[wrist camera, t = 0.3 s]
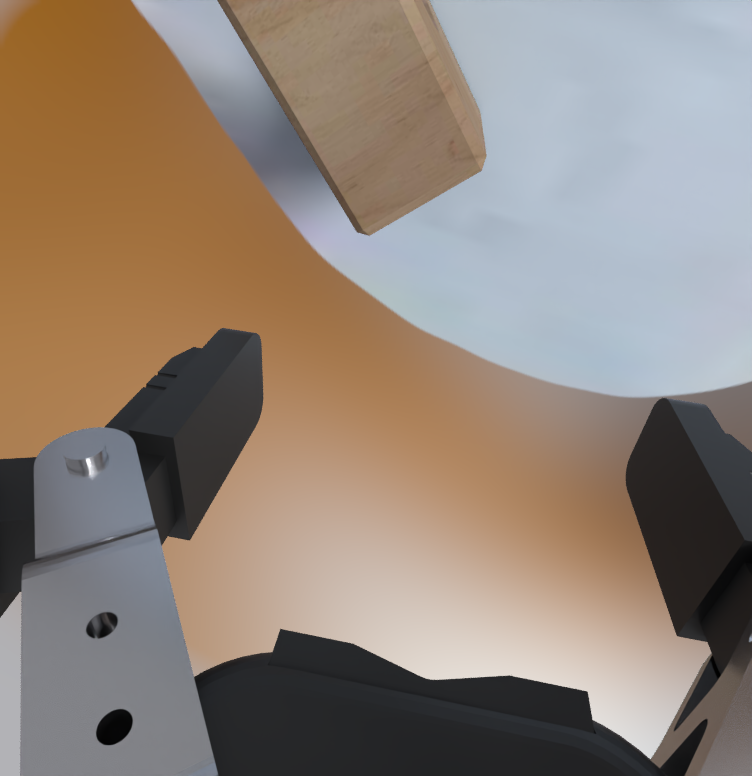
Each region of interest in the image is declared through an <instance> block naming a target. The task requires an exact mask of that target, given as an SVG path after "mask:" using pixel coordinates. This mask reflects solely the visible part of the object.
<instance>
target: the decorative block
mask: <svg viewBox="0 0 752 776" xmlns="http://www.w3.org/2000/svg"><path fill="white" fill-rule="evenodd" d="M217 1H218V2H219V4H220V6H221V7H222V9H223V11H224V12H225V14H226V16H227V17H228V19H229V21H230V22H231V24H232V26H233V27H234V29H235V31H236V32H237V34H238V36H239V37H240V39H241V41H242V42H243V44H244V46H245V47H246V49H247V51H248V52H249V54H250V56H251V57H252V59H253V61H254V62H255V64H256V66H257V67H258V69H259V71H260V72H261V74H262V76H263V77H264V79H265V81H266V82H267V84H268V86H269V87H270V89H271V91H272V92H273V94H274V96H275V97H276V99H277V101H278V102H279V104H280V106H281V107H282V109H283V111H284V112H285V114H286V116H287V117H288V119H289V121H290V122H291V124H292V125H293V127H294V129H295V130H296V132H297V134H298V135H299V137H300V139H301V140H302V142H303V144H304V145H305V147H306V149H307V150H308V152H309V154H310V155H311V157H312V159H313V160H314V162H315V164H316V165H317V167H318V169H319V170H320V172H321V173H322V175H323V177H324V178H325V180H326V182H327V183H328V185H329V187H330V188H331V190H332V192H333V193H334V195H335V197H336V198H337V200H338V202H339V203H340V205H341V207H342V208H343V210H344V212H345V213H346V215H347V217H348V218H349V220H350V222H351V223H352V225H353V226H354V228H355V230H356V231H357V232H358V233H362V234H365V235H369V236H370V235H371V234H373V233H375V232H377V231H378V230H380V229H382V228H383V227H385V226H387V225H389V224H390V223H392V222H394V221H396V220H397V219H399V218H401V217H402V216H404V215H406V214H408V213H409V212H411V211H413V210H415V209H416V208H418V207H420V206H421V205H423V204H425V203H427V202H428V201H430V200H432V199H433V198H435V197H437V196H439V195H440V194H442V193H444V192H446V191H447V190H449V189H451V188H452V187H454V186H456V185H458V184H459V183H461V182H463V181H464V180H466V179H468V178H470V177H471V176H473V175H475V174H477V173H478V172H480V171H482V168H483V165H484V162H485V159H486V149H485V142H484V135H483V128H482V121H481V114H480V110H479V108H478V106H477V104H476V102H475V99H474V97H473V95H472V93H471V91H470V88H469V86H468V84H467V82H466V80H465V78H464V75H463V73H462V71H461V69H460V67H459V64H458V62H457V60H456V58H455V56H454V53H453V51H452V49H451V47H450V45H449V42H448V40H447V38H446V36H445V34H444V32H443V29H442V27H441V25H440V23H439V21H438V18H437V16H436V14H435V12H434V10H433V7H432V5H431V3H430V1H429V0H217Z"/></svg>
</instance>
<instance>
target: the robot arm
mask: <svg viewBox="0 0 752 776" xmlns="http://www.w3.org/2000/svg"><path fill="white" fill-rule="evenodd" d="M262 405H263V376H262V348H261V339H260V336H259V335H258V334H257V333H251V332H245V331H239V330H232V329H226V328H222V329H220V330H218V332H217V333H216V334H215V335H214V336H213V337H212V338H211V339H210V341H208V343H207V344H206V345H205V346H204V347H203V348H196V347H193V348H191V349H189V350H187V351H185V352H183V353H181V354H179V355H177V356H175V357H173V358H171V359H170V360H169V362H167V364H165V366H164V367H163V368H162V369H161V370H160V371H159V372H158V375H157V376H156V375H155V376H154V377H153V378H152V379H151V380H150V381H149V382H148V383H147V384H146V388H145V387H143V388H142V389H141V390H140V391H139V392H138V393H137V394H136V395H135V396H134V397H133V399H132V400H130V401H129V402H128V404H127V405H126V406H125V407H124V408H123V409H122V410H121V411H120V412H119V413H118V414H117V415H116V416H115V417H114V418H113V419H112V420H111V421H110V422H109V423H108V424H107V425H106V426H105V427H104V428H100V427H98V428H88V429H82V430H78V431H74V432H71V433H69V434H66V435H64V436H62V437H59V438H58V439H56V440H54V441H53V442H51V443H50V444H48V445H47V446H46V447H45V448H44V449H43V450H42V451H41V452H40V453H39V455H38V456H37V457H33V458H15V459H0V617H1V616H2V615H3V613H4V612H5V611H6V609H7V608H8V607H9V605H10V604H11V603H12V601H13V600H14V599H15V597H16V596H17V595H18V593H19V592H22V599H21V600H22V601H21V602H22V604H21V606H22V607H21V608H22V609H21V610H22V611H21V612H22V613H21V746H20V776H752V452H751V451H750V450H748V449H747V448H746V447H745V446H744V445H742V444H741V443H740V442H739V441H737V440H736V439H735V438H734V437H733V436H732V435H730V434H725V433H724V431H723V430H722V429H721V427H720V425H719V423H718V422H717V420H716V419H715V417H714V416H713V414H712V413H711V411H710V410H709V408H708V407H707V406H706V405H704V404H699V403H692V402H685V401H680V400H673V399H667V398H662V399H660V400H659V401H657V403H656V404H655V405H654V407H653V409H652V411H651V413H650V415H649V417H648V419H647V422H646V424H645V426H644V428H643V430H642V432H641V434H640V437H639V439H638V441H637V443H636V445H635V447H634V449H633V451H632V454H631V456H630V458H629V461H628V464H627V469H626V486H627V490H628V493H629V496H630V499H631V502H632V505H633V508H634V511H635V514H636V517H637V520H638V523H639V526H640V529H641V532H642V535H643V538H644V541H645V544H646V546H647V549H648V552H649V555H650V558H651V561H652V564H653V567H654V570H655V573H656V576H657V579H658V582H659V584H660V588H661V591H662V594H663V596H664V599H665V602H666V605H667V608H668V611H669V614H670V617H671V620H672V623H673V626H674V629H675V632H676V635H677V636H679V637H684V638H689V639H695V640H700V641H705V642H708V645H709V647H710V650H711V652H712V653H711V654H710V656H709V657H708V658H707V659H706V661H705V662H704V663H703V665H702V667H701V668H700V670H699V672H698V674H697V676H696V678H695V680H694V682H693V684H692V685H691V687H690V689H689V691H688V693H687V695H686V697H685V699H684V701H683V702H682V704H681V706H680V708H679V710H678V712H677V714H676V716H675V718H674V719H673V721H672V723H671V725H670V727H669V729H668V731H667V733H666V735H665V736H664V738H663V740H662V742H661V744H660V746H659V747H658V749H657V750H656V752H655V753H654V755H653V757H652V758H651V759H649V758H648V757H647V756H645V755H644V754H643V753H642V752H641V751H640V750H639V749H637V748H636V747H635V746H633V745H632V744H631V743H629V742H628V741H626V740H625V739H624V738H622V737H621V736H620V735H618V734H616V733H615V732H613V731H611V730H610V729H608V728H606V727H605V726H603V725H601V724H599V723H597V722H595V721H593V720H592V715H591V709H590V704H589V697H588V692H587V691H582V690H577V689H572V688H567V687H562V686H558V685H553V684H548V683H543V682H538V681H533V680H528V679H523V678H518V677H513V676H496V677H480V678H464V679H448V680H447V679H446V680H430V679H425V678H423V677H420V676H418V675H416V674H414V673H412V672H410V671H408V670H406V669H404V668H402V667H400V666H398V665H396V664H393V663H392V662H389V661H387V660H385V659H383V658H381V657H379V656H377V655H375V654H373V653H371V652H369V651H367V650H365V649H363V648H360V647H359V646H357V645H354V644H351V643H347V642H342V641H337V640H332V639H326V638H322V637H317V636H312V635H307V634H302V633H297V632H293V631H287V630H283V629H280V632H279V635H278V638H277V641H276V644H275V647H274V650H273V652H271V653H260V654H255V655H250V656H244V657H240V658H237V659H234V660H230V661H227V662H224V663H222V664H219V665H217V666H215V667H213V668H210V669H208V670H206V671H204V672H202V673H200V674H199V675H197V676H195V677H194V676H193V672H192V667H191V663H190V659H189V655H188V651H187V647H186V643H185V639H184V635H183V631H182V627H181V623H180V619H179V615H178V611H177V607H176V603H175V599H174V595H173V591H172V587H171V583H170V579H169V575H168V571H167V566H166V562H165V559H164V555H163V550H162V544H163V543H164V541H165V539H166V538H167V536H169V537H175V538H180V539H185V540H190V539H191V538H192V536H193V534H194V532H195V531H196V529H197V527H198V525H199V524H200V522H201V520H202V519H203V517H204V515H205V513H206V512H207V510H208V508H209V506H210V505H211V503H212V501H213V500H214V498H215V496H216V494H217V493H218V491H219V489H220V487H221V486H222V484H223V482H224V481H225V479H226V477H227V475H228V474H229V472H230V470H231V468H232V467H233V465H234V463H235V461H236V460H237V458H238V456H239V454H240V453H241V451H242V449H243V448H244V446H245V444H246V442H247V441H248V439H249V437H250V436H251V434H252V432H253V430H254V429H255V427H256V425H257V423H258V421H259V418H260V415H261V411H262Z"/></svg>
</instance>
